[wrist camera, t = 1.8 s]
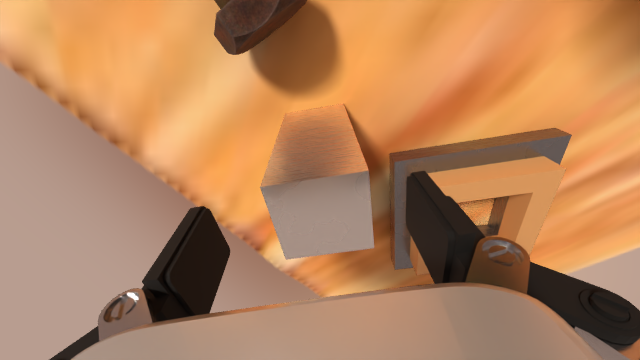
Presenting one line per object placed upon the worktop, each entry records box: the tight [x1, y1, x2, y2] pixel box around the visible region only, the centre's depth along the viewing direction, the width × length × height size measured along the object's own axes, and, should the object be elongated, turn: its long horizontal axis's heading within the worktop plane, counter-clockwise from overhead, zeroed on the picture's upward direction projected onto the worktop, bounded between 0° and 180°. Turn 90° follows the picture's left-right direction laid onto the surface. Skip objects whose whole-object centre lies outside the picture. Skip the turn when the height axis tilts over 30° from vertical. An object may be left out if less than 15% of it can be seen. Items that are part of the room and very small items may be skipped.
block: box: [260, 104, 374, 259], centre depth 15 cm, size 4×4×10 cm
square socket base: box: [390, 128, 571, 275], centre depth 22 cm, size 13×13×4 cm
